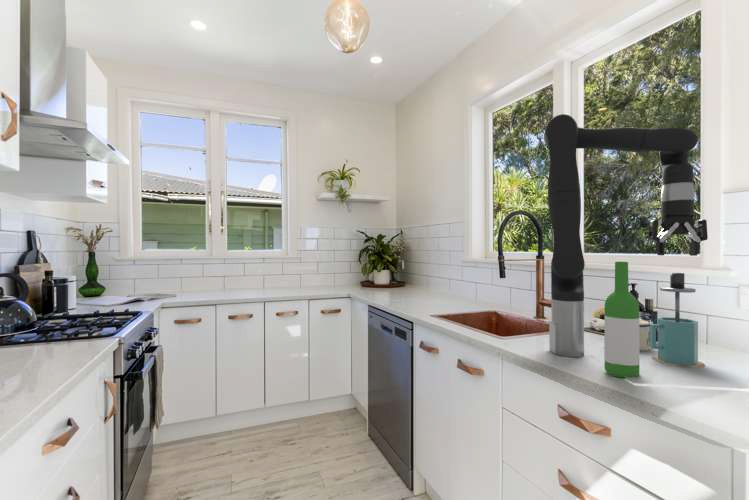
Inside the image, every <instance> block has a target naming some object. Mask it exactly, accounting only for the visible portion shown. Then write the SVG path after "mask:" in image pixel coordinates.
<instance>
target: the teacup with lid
mask: <svg viewBox="0 0 749 500" xmlns="http://www.w3.org/2000/svg"><path fill="white" fill-rule="evenodd" d="M650 324H651V323H650V322H649V321H647V320H644V319H642V318H641V317H639V344H640V351H649V350H650Z"/></svg>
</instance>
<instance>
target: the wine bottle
mask: <svg viewBox="0 0 749 500" xmlns="http://www.w3.org/2000/svg"><path fill="white" fill-rule="evenodd" d="M639 318H640V304H639V301H638V299H637V298H636V297H635V295H633V294H632V293H631V292H630V291H629V262H628V261H615V262H614V291H613V292H612V293H610V294H609V295H608V296H607V297H606V299H605V302H604V343H603V344H604V347H603V348H604V349H603V350H604V356H603V357H604V370H605V372H606V373H607V374H609V375H610V376H614V377H617V378H620V379H627V378H637V377H639V376H640V364H641V363H640V358H641V357H640V351H641V350H640V344H639Z"/></svg>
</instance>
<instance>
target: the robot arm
mask: <svg viewBox="0 0 749 500" xmlns="http://www.w3.org/2000/svg"><path fill="white" fill-rule="evenodd" d="M543 140H544V143H545V145H546V146H547V147H548V151H549V162H550V163H549V171H548V180H547V181H548V182H547V201H548V202H547V204H548V206H547V207H548V213H549V219H550V224H551V227H552V232H553V233H552V234H553V247H552V249H553V250H552V258H551V262H550V263H551V264H550V270H551V271H550V275H551V276H550V277H551V284H550V287H551V290H550V291H551V293H550V295H551V297H550V298H551V303H550V304H551V305H550V306H551V310H550V311H551V320H550V321H549V325H548V326H549V329H548V330H549V331H548V333H549V336H548V337H549V342H548V343H549V345H548V346H549V351H550V352H551V353H553V355H556V356H562V357H569V358H581V357H584V356H585V291H584V269H585V264H586V263H585V258H584V254H583V248H582V242H581V232H580V231H581V229H580V228H581V218H582V199H581V187H580V186H581V183H580V174H579V169H578V167H579V166H578V162H577V160H578V159H577V149H596V150H609V151H619V152H626V153H627V152H630V153H639V154H641V153H649V152H658V155H659V161H660V166H661V170H662V177H661V178H662V179H661V180H662V181H661V182H662V183H661V185H662V186H661V193H660V216H661V219H660V220H658V219H651V220H649V221H648V234H647V240H649V241H652V242H654V243H655V253H656V254H657V256H665V251H666V250H665V240H667V238H668V237H670V236H671V235H672V236H674V235H677V236H678V235H679V236H681V235H683V236H684V237H685V238H687V239H688V241H689V246H688V247H689V248H688V249H689V251H688V253H689V256H694V257H696V256H698V254H699V253H700V243H701V242H703V241H707V240H708V238H709V237H708V225H707V223H708V222H707V221H708V220H707V219H697V220H695V219H694V216H695V187H694V168H693V167H694V166H693V165H692V164H690V163H689V158H688V153H689V152H691V151H692V150H693V149H694V148H695V146H697V143H698V140H699V139H698V135H697V133H696V132H695V131H693V130H692V129H689V128H684V127H666V128H665V127H663V128H646V127H632V126H629V127H628V126H627V127H626V126H621V127H618V126H617V127H606V128H584V127H578V123H577V121H576V119H575V118H573V117H572V116H571V115H569V114H563V113H562V114H557V115H556V116H554V117H553V118H552V119H550V121H549V122H548V123H547V124H546V127H545V130H544V135H543ZM660 226H661V231H660V232H659V227H660ZM693 227H695V228H696V230H694V228H693ZM658 232H659V233H658Z"/></svg>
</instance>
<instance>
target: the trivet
mask: <svg viewBox="0 0 749 500" xmlns="http://www.w3.org/2000/svg"><path fill="white" fill-rule="evenodd" d="M651 359H652V361H653V360H654V361H656V362H658V363H660V364H664V365H668V366H673V367H680V368H689V369H690V368H691V369H700V368H704V367H706V364H705V363H703V362H701V361H699V360H698V364H696V365H695V366H685V365H676V364H671V363H666V362H664V361H662V360H660V359H658V354H656V355H652V356H651Z"/></svg>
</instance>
